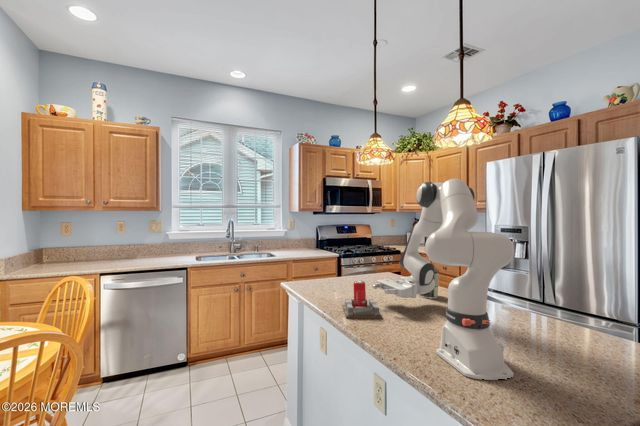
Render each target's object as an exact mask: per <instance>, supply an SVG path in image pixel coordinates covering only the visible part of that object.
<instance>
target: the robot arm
mask: <svg viewBox="0 0 640 426" xmlns="http://www.w3.org/2000/svg"><path fill="white" fill-rule="evenodd" d="M475 197H476V195H475V192H474V190H473V188H472V187H470V186H468V185H467V183H466V182H465V181H463V179H459V178H450V179H448V180H445V181H444V182H439V181H438V182H432V181H426V182H425V181H424V182H422V183H421V184H420V185H419V186H418V188H417V190H416V202H417V204H418V205H419V206H420V207H422V209H421V211H420V212H421V213H420V216H419V217H420V218H419V221H418V222H416V223H414V225H413V227H412V228H411V231H410V233H409V237H408V239H407V242H406V245H405V248H404V250H403V252H402V253H401V255H400V259H399V263H400V266H401V267H402V268H404V269H405V270H406V271H407V272H408V273H410V274H411V275H410V276H399V277H397V278H396V280H393V279H388V278H384V279H383V278H382V279H377V280H376V281H375V283H374V284H372V288H373V289H375V290H376V289H381V290H382V291H384V292H383V293H384V294H386V295H395V296H396V297H399V298H402V299H403V298H404V299H406V298H407V299H408V298H412V299H416V298H417V296H418V295H419V294H425V293H428V292H430V291H432V290H433V289H434V287H435V281H434V279H433V278H434V274H435V269H436V268H435V265H434V264H439V265H443V266H450V267H451V266H452V267H457V266H458V267H467V270H466V271H465V272H464V273H463V274H462V275H459V276H457V277H455V278H454V279H452V280H451V281H450V283H449V284H448V287H447V290H448V293H447V306H446V309H445V318H446V321H445V323H444V325H442V327H441V332H440V343H439V347H438V348H436V349H435V354H437V356H439V357H440V358H442V360H444V361H445V362H446V363H448V364H449V365H450V366H452V367H453V368H454V369H456V370H457V372H459V373H460V374H461V375H463V376H464V377H468V378H470V379H476V380H482V379H484V380H483V381H499V380H498V379H505V380H508V379H507V378H510V379H512V378H514V377H515V376H514V375H515V374H514V372H513V371H512V369H511V368H510V367H509V366H508V365H507V363H506V362H505V361H504V359H505V358H504V345H503V344H502V343H499V342H498V340H497V339H496V337H495V334H493V332H492V330H491V328H490V326H491V323H490V322H491V320H490V316H489V314H488V312H487V301H488V300H487V299H488V291H489V287H490V283H491V282H492V280H493V278H494V277H495V276H496V274H498V272H499V271H501V270H502V269H503V268H504V267H505V266H507V265H509V264H510V263H511V261H512V260H513V258H514V255H515V248H514V244H513V242H512V240H511V239H510V238H509V236H507V235H506V234H502V233H496V232H491V231H470V230H471V229H473V228H474V227H475V226H476V225H477V223H478V221H479V212H478V210H477V207H476V203H475ZM423 238H426V241H425V245H424V246H425V247H424V249H425V254H426V256H427V258H428V259H426V258H425V257H424V256H422V255H420V253H419V247H420V245H421V242H422V240H423ZM429 260H430V261H429ZM433 263H434V264H433ZM513 376H514V377H513ZM511 377H512V378H511Z"/></svg>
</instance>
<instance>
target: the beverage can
mask: <svg viewBox="0 0 640 426" xmlns="http://www.w3.org/2000/svg"><path fill="white" fill-rule="evenodd" d="M366 295H367V294H366V282H365V281H363V280H355V281H354V282H353V299H354V307H366V298H367V296H366Z"/></svg>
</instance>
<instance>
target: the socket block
mask: <svg viewBox="0 0 640 426" xmlns="http://www.w3.org/2000/svg"><path fill="white" fill-rule="evenodd" d="M341 306H342V310H343V312H344V316H345V319H367V320H368V319H371V320H372V319H380V320H381V319H382V318H383V315H382V313H381V312H380V308H379V306H378V304H377V302H376V301H375V300H374V299H373V298H369V299H366V307H354V298H352V299H350V298H345V299H344V304H342V305H341Z"/></svg>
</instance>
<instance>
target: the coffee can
mask: <svg viewBox="0 0 640 426" xmlns="http://www.w3.org/2000/svg"><path fill="white" fill-rule="evenodd" d="M439 272H440V271H439V269H437V268H435V274H434V278H433V279H434V281H435V287H434V289H433V290H432V291H430V292H428V293H425V294H419V295H417V296H418V297H419V298H422V297H423V298H422V299H428V298H429V299H430V300H431V299H433V300H434V299H437V298H438V297H439Z"/></svg>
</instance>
